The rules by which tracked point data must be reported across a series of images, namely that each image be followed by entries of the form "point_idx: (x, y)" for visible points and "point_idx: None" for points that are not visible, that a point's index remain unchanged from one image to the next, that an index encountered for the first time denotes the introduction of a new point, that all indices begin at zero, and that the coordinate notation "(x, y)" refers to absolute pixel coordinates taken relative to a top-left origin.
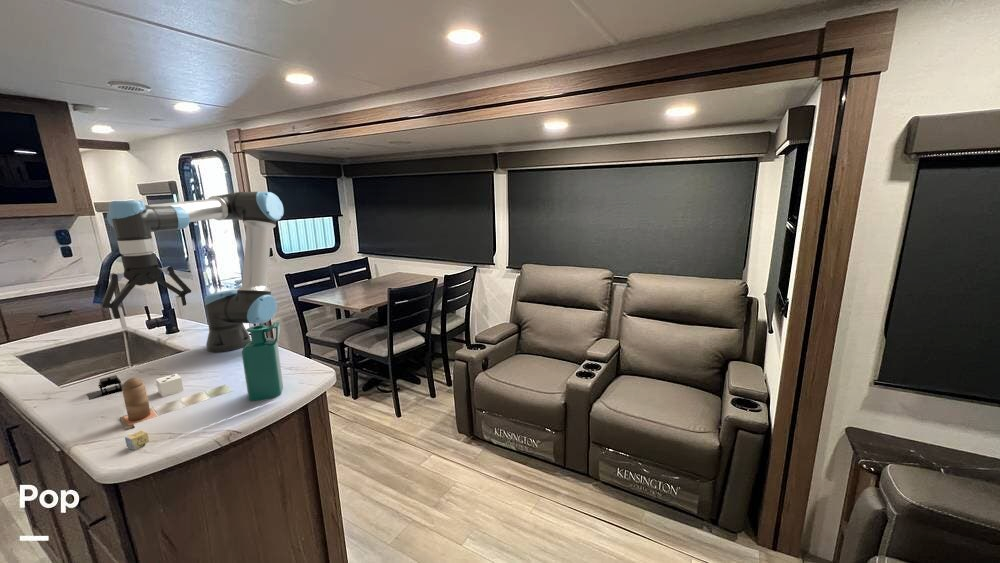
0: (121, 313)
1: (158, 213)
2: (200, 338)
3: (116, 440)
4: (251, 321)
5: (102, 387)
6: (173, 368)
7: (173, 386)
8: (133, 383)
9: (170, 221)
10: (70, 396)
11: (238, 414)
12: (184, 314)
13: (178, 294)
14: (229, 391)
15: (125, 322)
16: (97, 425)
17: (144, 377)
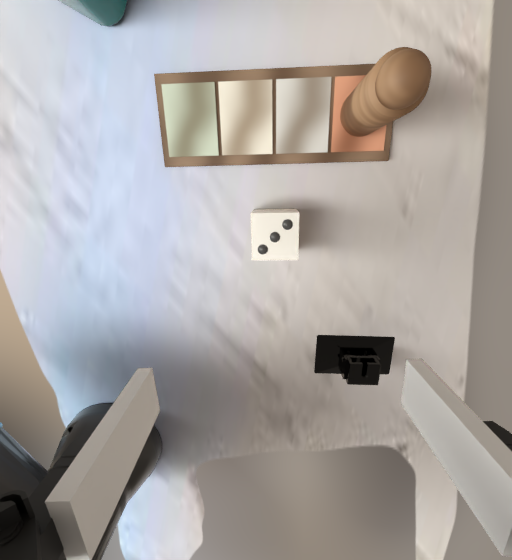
0: (489, 441)
1: None
2: (160, 527)
3: (429, 11)
4: None
5: (374, 355)
6: (238, 389)
7: (271, 211)
8: (411, 49)
9: None
10: None
11: None
12: (133, 377)
13: (38, 544)
14: (169, 87)
15: (430, 385)
16: (425, 162)
17: (292, 381)
